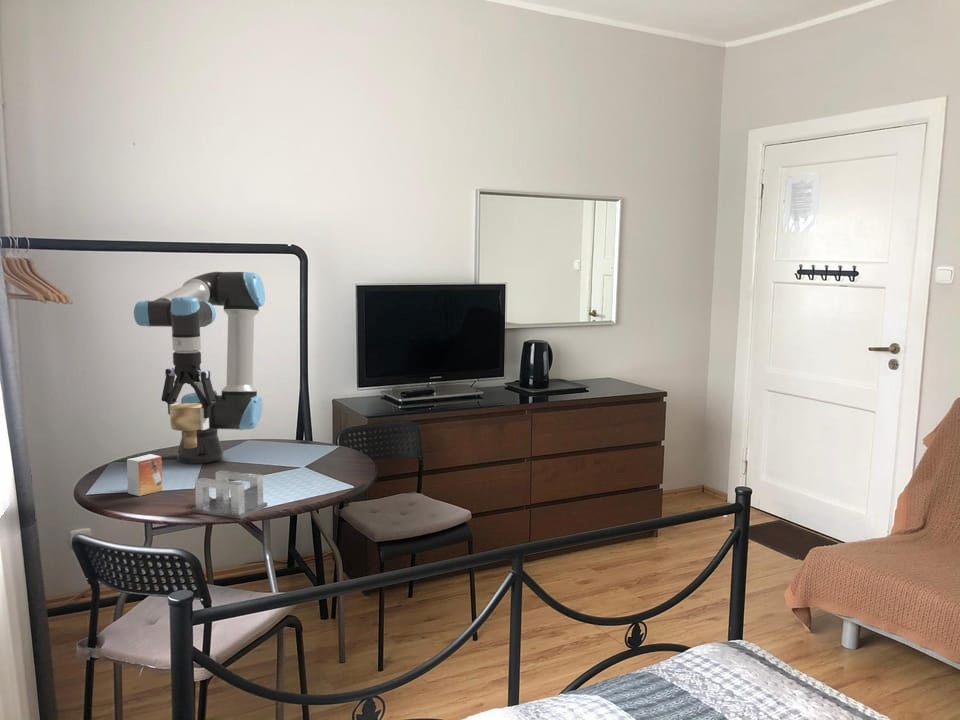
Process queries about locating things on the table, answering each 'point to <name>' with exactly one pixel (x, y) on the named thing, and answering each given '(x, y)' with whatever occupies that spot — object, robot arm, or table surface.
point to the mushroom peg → (186, 422)
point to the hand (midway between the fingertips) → (189, 427)
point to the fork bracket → (240, 499)
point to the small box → (144, 474)
